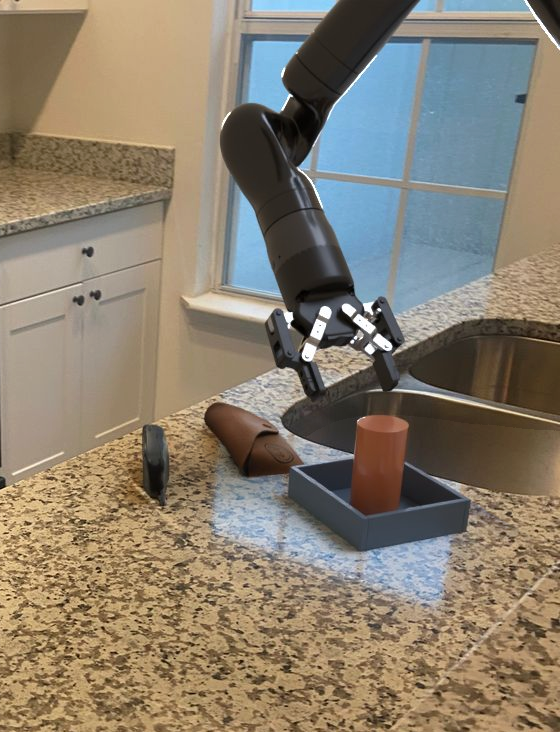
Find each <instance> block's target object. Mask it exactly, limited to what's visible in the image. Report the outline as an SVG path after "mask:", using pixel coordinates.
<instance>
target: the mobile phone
mask: <svg viewBox="0 0 560 732" xmlns="http://www.w3.org/2000/svg"><path fill="white" fill-rule="evenodd" d="M141 431H142V432H141V459H142V488H143V491H144V492H145V494H146V495H147V496H148V497H152V498H157V499H158V500H159V504H160V506H161V507H166V506H167V505H168V503H167V499H166V493H167V488H168V482H169V479H170V452H169V446H168V443H167V437H166V432H165V429H164V428H163V427H162V426H161V425H159V424H153V423H152V424H149V423H148V424H144V425H143V426H142V430H141Z"/></svg>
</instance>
